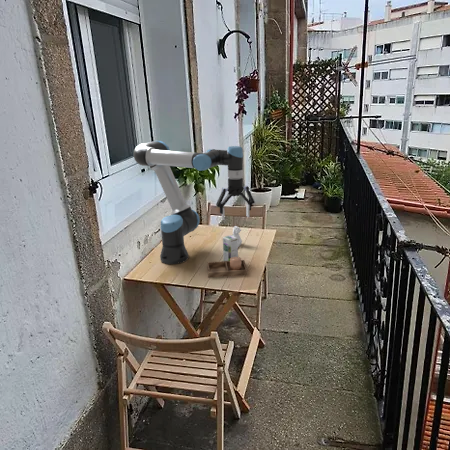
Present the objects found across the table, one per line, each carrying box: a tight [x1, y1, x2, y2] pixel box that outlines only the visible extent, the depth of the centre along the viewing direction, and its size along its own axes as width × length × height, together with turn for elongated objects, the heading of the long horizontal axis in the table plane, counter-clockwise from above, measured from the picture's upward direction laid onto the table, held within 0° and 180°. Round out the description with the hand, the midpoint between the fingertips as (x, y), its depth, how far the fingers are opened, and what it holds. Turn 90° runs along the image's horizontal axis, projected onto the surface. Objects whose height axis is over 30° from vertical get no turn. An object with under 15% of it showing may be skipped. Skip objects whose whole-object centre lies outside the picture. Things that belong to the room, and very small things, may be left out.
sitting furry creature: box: [232, 225, 243, 248], centre depth 220 cm, size 10×9×12 cm
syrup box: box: [222, 234, 239, 261], centre depth 197 cm, size 6×6×14 cm
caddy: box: [206, 259, 248, 278], centre depth 188 cm, size 19×12×4 cm, turn 95°
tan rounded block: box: [230, 256, 242, 271], centre depth 187 cm, size 6×6×6 cm
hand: (235, 218), depth 196 cm, fingers open, 13 cm apart
